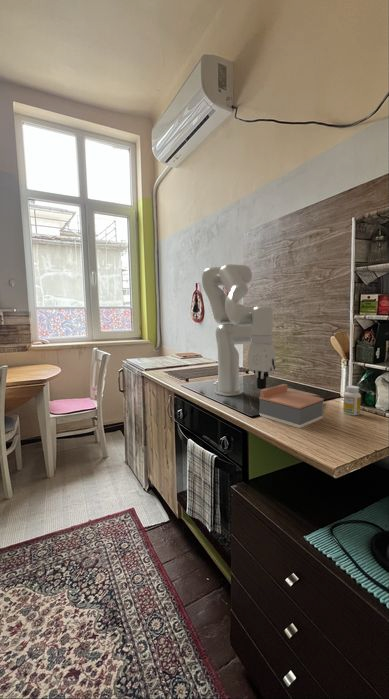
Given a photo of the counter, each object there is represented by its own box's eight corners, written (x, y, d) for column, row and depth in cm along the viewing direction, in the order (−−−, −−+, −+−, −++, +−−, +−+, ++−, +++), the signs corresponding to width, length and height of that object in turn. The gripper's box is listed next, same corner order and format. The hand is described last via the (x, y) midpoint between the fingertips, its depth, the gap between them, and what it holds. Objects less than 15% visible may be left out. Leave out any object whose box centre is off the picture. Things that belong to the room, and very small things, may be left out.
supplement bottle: (355, 410, 114) (356, 385, 113) (362, 415, 109) (364, 388, 108) (340, 410, 114) (341, 385, 113) (347, 415, 109) (348, 388, 108)
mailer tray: (259, 415, 110) (259, 399, 109) (282, 407, 119) (283, 392, 118) (299, 428, 98) (300, 409, 97) (322, 418, 107) (323, 401, 106)
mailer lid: (259, 398, 109) (259, 389, 109) (283, 391, 118) (283, 383, 118) (299, 408, 97) (299, 399, 97) (323, 400, 106) (323, 391, 106)
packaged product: (273, 388, 131) (288, 385, 137) (273, 400, 131) (287, 396, 137) (311, 397, 117) (326, 393, 123) (311, 410, 117) (325, 405, 123)
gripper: (240, 339, 119) (240, 386, 121) (272, 341, 107) (271, 393, 109) (253, 338, 123) (252, 383, 125) (285, 340, 112) (284, 390, 114)
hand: (261, 388), depth 117 cm, fingers closed
